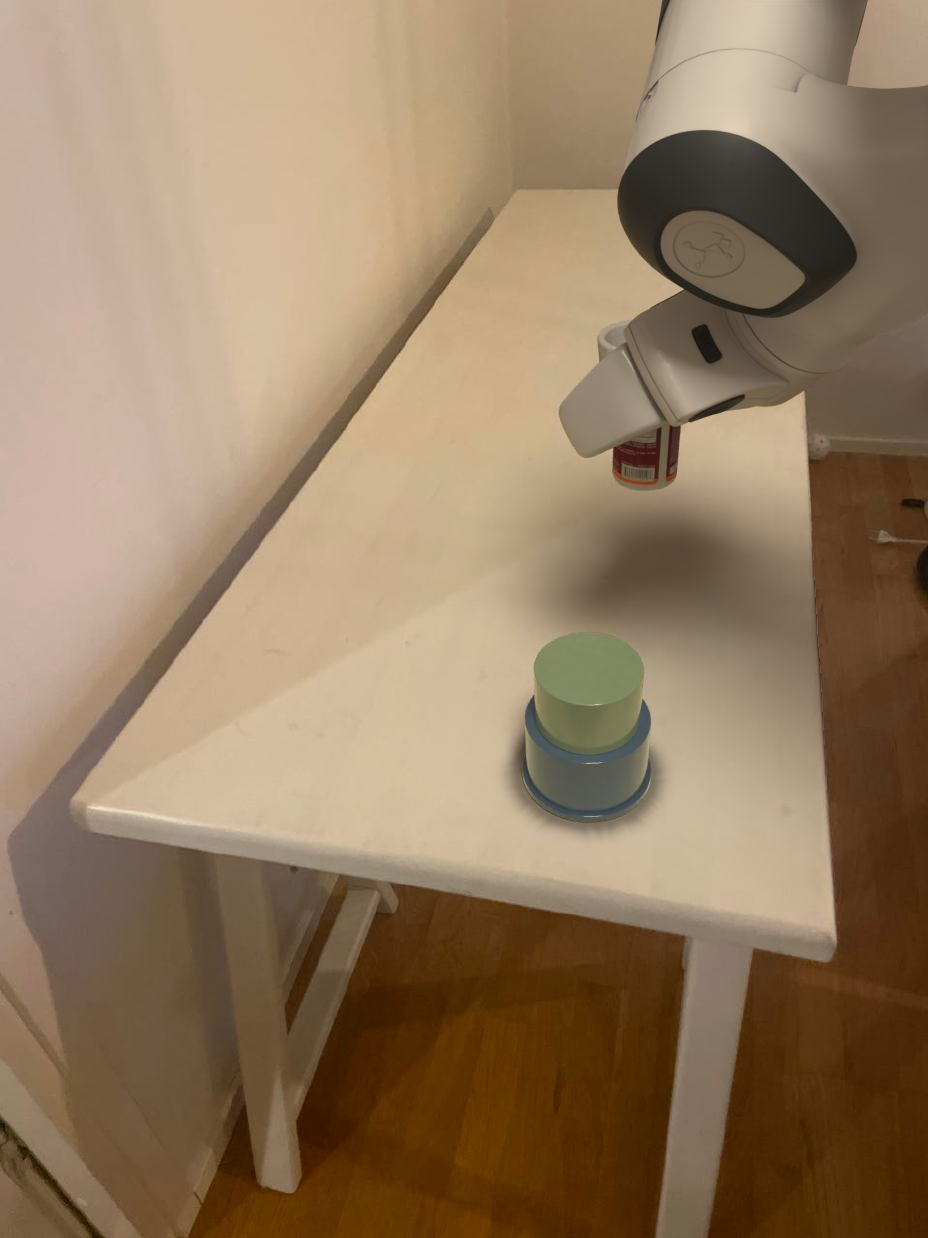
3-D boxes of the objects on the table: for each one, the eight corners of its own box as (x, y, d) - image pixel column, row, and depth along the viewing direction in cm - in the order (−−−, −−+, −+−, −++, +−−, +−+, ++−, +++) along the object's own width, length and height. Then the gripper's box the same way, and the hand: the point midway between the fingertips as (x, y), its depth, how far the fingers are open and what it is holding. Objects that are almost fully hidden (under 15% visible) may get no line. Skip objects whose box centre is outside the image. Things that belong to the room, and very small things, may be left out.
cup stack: (662, 740, 68) (672, 635, 62) (635, 836, 62) (644, 729, 55) (542, 715, 71) (540, 612, 65) (505, 805, 64) (499, 700, 58)
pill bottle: (652, 454, 72) (660, 350, 67) (689, 482, 69) (700, 373, 63) (599, 470, 71) (602, 365, 65) (634, 499, 67) (640, 390, 62)
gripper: (856, 236, 59) (722, 341, 72) (611, 323, 51) (508, 424, 63) (902, 325, 59) (760, 414, 71) (664, 427, 50) (551, 508, 63)
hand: (640, 420), depth 67 cm, fingers closed on pill bottle, 5 cm apart
